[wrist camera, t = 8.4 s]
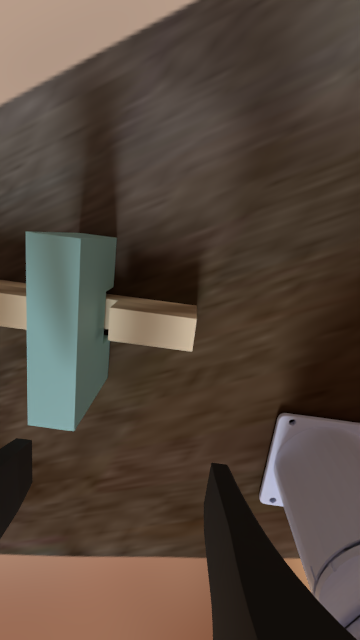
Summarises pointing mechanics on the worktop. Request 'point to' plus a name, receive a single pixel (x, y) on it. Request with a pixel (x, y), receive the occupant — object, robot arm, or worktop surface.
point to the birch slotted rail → (119, 318)
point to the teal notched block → (66, 324)
